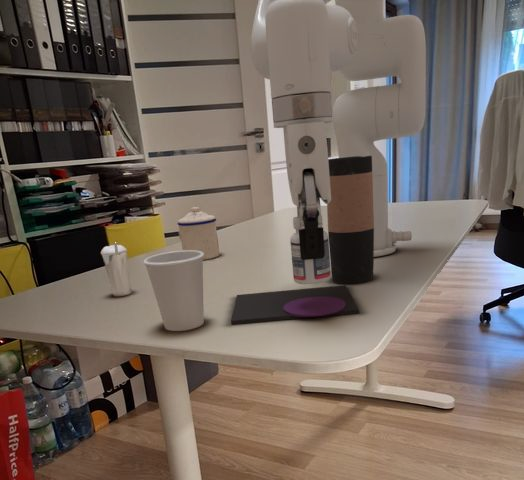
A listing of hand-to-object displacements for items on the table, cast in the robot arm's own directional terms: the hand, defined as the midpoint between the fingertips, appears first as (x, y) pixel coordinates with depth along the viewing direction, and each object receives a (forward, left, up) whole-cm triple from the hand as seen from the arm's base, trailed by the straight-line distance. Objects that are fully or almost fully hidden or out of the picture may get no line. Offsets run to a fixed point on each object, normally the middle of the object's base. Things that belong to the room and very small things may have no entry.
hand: (311, 253), depth 73 cm
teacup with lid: (+24, -53, -9) cm, 59 cm away
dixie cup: (+19, +1, -9) cm, 21 cm away
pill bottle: (0, 0, -4) cm, 4 cm away
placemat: (+3, -4, -8) cm, 10 cm away
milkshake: (+34, -21, -9) cm, 41 cm away
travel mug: (-8, -17, -9) cm, 21 cm away
